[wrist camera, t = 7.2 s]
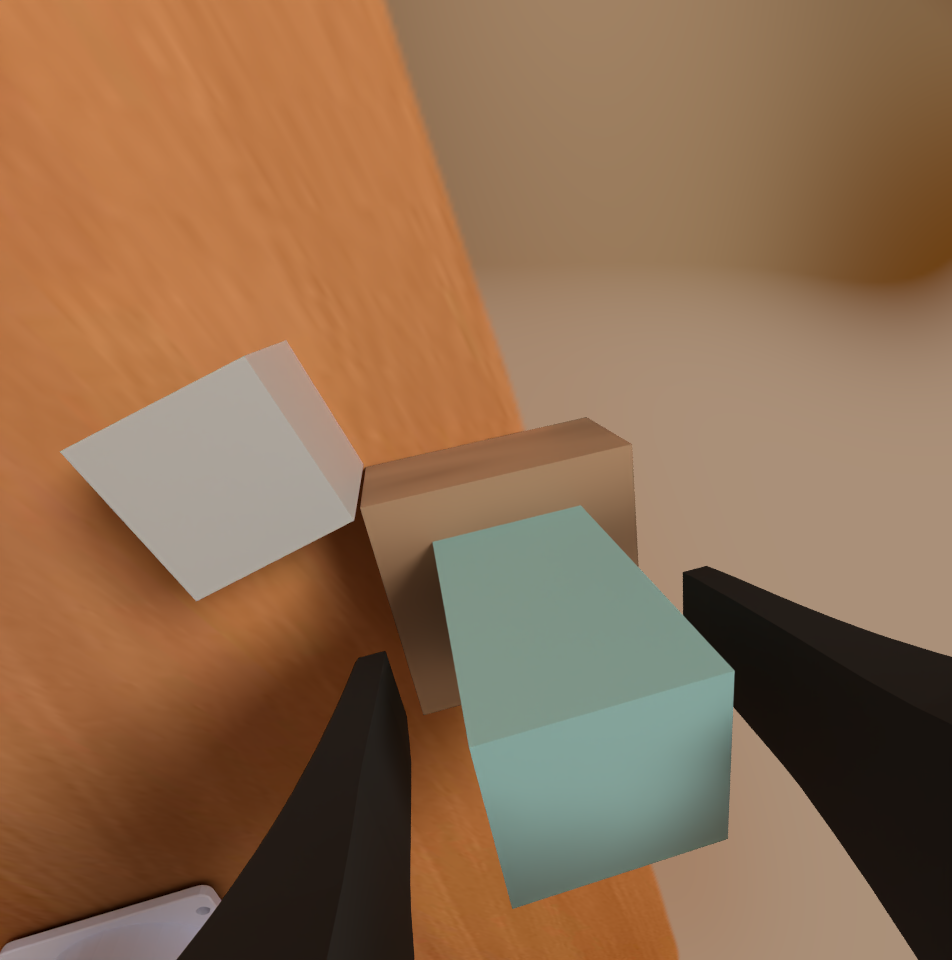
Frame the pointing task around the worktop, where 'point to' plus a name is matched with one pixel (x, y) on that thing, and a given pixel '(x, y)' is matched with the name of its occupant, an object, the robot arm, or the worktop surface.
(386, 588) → the brown wooden square block
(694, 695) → the teal block
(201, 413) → the grey block
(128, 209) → the worktop surface
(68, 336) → the worktop surface
